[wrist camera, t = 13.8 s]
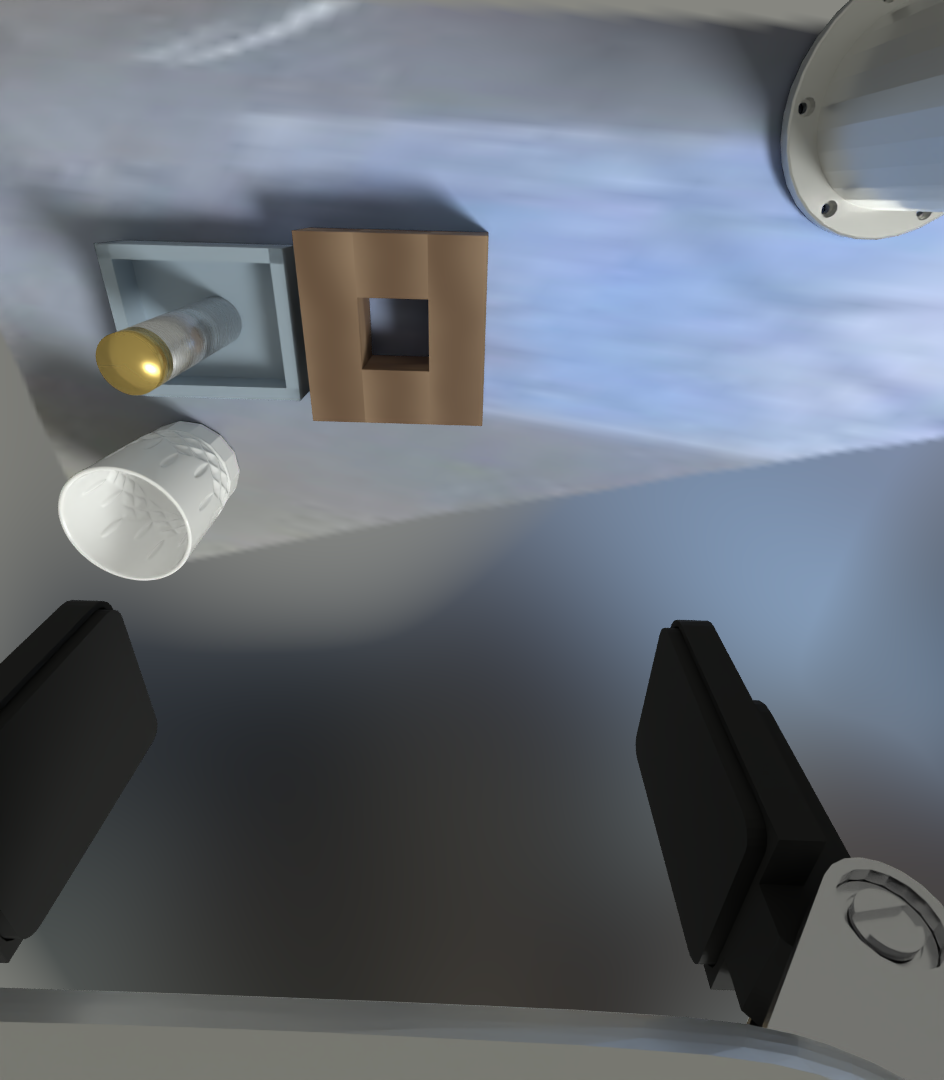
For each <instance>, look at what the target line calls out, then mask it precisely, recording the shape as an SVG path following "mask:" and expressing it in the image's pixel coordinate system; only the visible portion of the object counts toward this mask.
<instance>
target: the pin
mask: <svg viewBox="0 0 944 1080" xmlns="http://www.w3.org/2000/svg"><path fill="white" fill-rule="evenodd" d="M241 329H242V321H241V317H240V314H239V312H238V311H237V309H236V308H235V307H234V305H233V304H232V303H230V302H229V301H228V300H226V299H224V298H221V297H218V296H210V297H206V298H204V299H201V300H198V301H196V302H193V303H190V304H188V305H185V306H183V307H180V308H177V309H175V310H172V311H170V312H167V313H164V314H162V315H159V316H157V317H154V318H151V319H149V320H146V321H144V322H141V323H138V324H136V325H133V326H131V327H128V328H125V329H123V330H120V331H117V332H115V333H112V334H110V335H107V336H106V337H104V338H103V339H102V340H101V341H100V342H99V344H98V346H97V349H96V362H97V365H98V368H99V370H100V372H101V374H102V375H103V377H104V378H105V379H106V381H107V382H108V383H109V384H110V385H112V386H113V387H114V388H116V389H117V390H119V391H121V392H123V393H126V394H129V395H144V394H147V393H149V392H151V391H152V390H154V389H156V388H157V387H159V386H161V385H162V384H164V383H166V382H167V381H169V380H171V379H172V378H174V377H176V376H177V375H179V374H181V373H182V372H184V371H186V370H187V369H189V368H191V367H192V366H194V365H196V364H197V363H199V362H201V361H202V360H204V359H206V358H207V357H209V356H210V355H212V354H214V353H215V352H217V351H219V350H220V349H222V348H224V347H225V346H227V345H229V344H230V343H232V342H234V341H235V340H236V339H237V338H238V337H239V335H240V333H241Z"/></svg>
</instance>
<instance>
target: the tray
mask: <svg viewBox="0 0 944 1080" xmlns="http://www.w3.org/2000/svg"><path fill="white" fill-rule="evenodd" d="M94 246H95V250H96V254H97V258H98V262H99V265H100V269H101V273H102V277H103V281H104V284H105V288H106V292H107V296H108V300H109V303H110V307H111V311H112V315H113V318H114V322H115V326H116V330H117V331H120V330H123V329H125V328H128V327H131V326H133V325H136V324H138V323H141V322H144V321H146V320H149V319H151V318H154V317H157V316H159V315H162V314H164V313H167V312H170V311H172V310H175V309H177V308H180V307H183V306H185V305H188V304H190V303H193V302H196V301H198V300H201V299H204V298H206V297H210V296H218V297H221V298H224V299H226V300H228V301H229V302H230V303H232V304H233V305H234V307H235V308H236V309H237V311H238V312H239V314H240V317H241V321H242V329H241V333H240V335H239V337H238V338H237V339H236V340H235V341H234V342H232V343H230V344H229V345H227V346H225V347H224V348H222V349H220V350H219V351H217V352H215V353H214V354H212V355H210V356H209V357H207V358H206V359H204V360H202V361H201V362H199V363H197V364H196V365H194V366H192V367H191V368H189V369H187V370H186V371H184V372H182V373H181V374H179V375H177V376H176V377H174V378H172V379H171V380H169V381H167V382H166V383H164V384H162V385H161V386H159V387H157V388H156V389H154V390H152V391H151V392H149V393H147V394H144V395H134V396H159V397H192V398H226V399H260V400H293V401H301V399H302V398H303V397H304V396H305V395H306V394H307V393H308V392H309V391H310V387H309V378H308V370H307V361H306V352H305V343H304V335H303V326H302V317H301V308H300V299H299V291H298V282H297V273H296V264H295V255H294V247H293V245H274V244H237V243H201V242H165V241H129V240H119V241H111V242H102V243H94Z"/></svg>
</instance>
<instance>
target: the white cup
mask: <svg viewBox="0 0 944 1080" xmlns="http://www.w3.org/2000/svg"><path fill="white" fill-rule="evenodd" d="M239 472H240V470H239V466H238V463H237V459H236V456H235V453H234V451H233V450H232V449H231V447H230V446H229V445H228V444H227V442H226V441H225V440H224V439H223V437H222V436H221V435H219V434H218V433H216V432H214V431H212V430H211V429H209V428H207V427H206V426H204V425H202V424H198V423H191V422H184V421H178V422H175V423H172V424H168V425H165V426H162V427H160V428H158V429H157V430H155V431H153V432H152V433H149V434H147V435H144V436H142V437H140V438H138V439H137V440H135V441H133V442H131V443H129V444H127V445H126V446H124V447H121V448H120V449H118V450H116V451H115V452H113V453H111V454H109V455H108V456H106V457H104V458H103V459H101V460H99V461H98V462H96V463H94V464H92V465H91V466H89V467H87V468H85V469H84V470H82V471H80V472H78V473H77V474H75V475H74V476H72V477H71V478H70V479H69V480H68V481H67V482H66V484H65V485H64V487H63V488H62V490H61V493H60V496H59V501H58V513H59V518H60V522H61V525H62V527H63V530H64V532H65V534H66V535H67V537H68V539H69V540H70V542H71V543H72V544H73V545H74V547H75V548H76V549H77V550H78V551H79V552H80V553H81V554H82V555H83V556H84V557H85V558H87V559H88V560H89V561H90V562H92V563H93V564H95V565H96V566H98V567H99V568H101V569H103V570H105V571H107V572H110V573H111V574H114V575H117V576H120V577H124V578H128V579H133V580H155V579H160V578H163V577H166V576H168V575H170V574H172V573H174V572H175V571H177V570H178V569H179V568H180V567H181V566H182V565H183V564H184V563H185V562H186V560H187V559H188V557H189V556H190V555H191V553H192V552H193V550H194V549H195V548H196V546H197V545H198V544H199V542H200V541H201V539H202V538H203V537H204V535H205V534H206V533H207V531H208V530H209V529H210V527H211V526H212V524H213V523H214V521H215V519H216V518H217V517H218V515H219V514H220V512H221V511H222V509H223V507H224V505H225V503H226V501H227V500H228V498H229V497H230V496H231V494H232V493H233V492H234V490H235V489H236V486H237V482H238V477H239Z"/></svg>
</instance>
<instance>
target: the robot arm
mask: <svg viewBox="0 0 944 1080" xmlns="http://www.w3.org/2000/svg"><path fill="white" fill-rule="evenodd" d="M800 104H802V105H803V112H802V113H801V114H799V112H798V107H799V105H800ZM780 142H781V161H782V168H783V172H784V176H785V180H786V184H787V187H788V189H789V191H790V193H791V195H792V197H793V199H794V201H795V203H796V205H797V206H798V207H799V209H800V210H801V211H802V212H803V213H804V215H805V216H806V217H807V218H808V219H809V220H810V221H812V222H813V223H814V224H816V225H817V226H819V227H820V228H821V229H823V230H825V231H828V232H830V233H833V234H835V235H838V236H841V237H847V238H853V239H873V240H878V239H883V238H889V237H895V236H899V235H902V234H905V233H908V232H910V231H913V230H916V229H919V228H921V227H923V226H924V225H926V224H928V223H930V222H932V221H934V220H935V219H937V218H939V217H941V216H942V215H944V0H850V1H849V2H848V3H847V4H846V5H844V6H843V7H842V8H841V9H840V10H839V11H838V12H837V13H836V14H835V16H834V17H833V18H832V19H831V20H830V22H829V23H828V24H827V25H826V27H825V28H824V29H823V30H822V31H821V33H820V34H819V35H818V37H817V38H816V40H815V42H814V43H813V45H812V47H811V48H810V50H809V51H808V53H807V55H806V56H805V58H804V60H803V61H802V64H801V66H800V68H799V70H798V73H797V75H796V77H795V80H794V82H793V84H792V87H791V89H790V93H789V97H788V100H787V104H786V108H785V111H784V115H783V123H782V132H781V140H780ZM824 204H825V206H826V209H825V211H824V212H823V213H821V212H822V207H823V205H824ZM917 211H919V212H918V213H917ZM156 733H157V719H156V716H155V713H154V710H153V707H152V704H151V701H150V698H149V695H148V692H147V689H146V686H145V683H144V680H143V678H142V674H141V671H140V668H139V665H138V662H137V660H136V657H135V654H134V651H133V648H132V645H131V642H130V639H129V636H128V633H127V630H126V627H125V625H124V621H123V618H122V616H121V614H120V613H119V612H118V611H116V610H113V608H112V606H111V605H110V604H109V603H108V602H104V601H83V600H82V601H81V600H71V601H67V602H65V603H64V604H62V605H61V606H60V607H59V608H58V609H57V610H56V611H55V612H54V613H53V614H52V615H51V616H50V617H49V618H48V619H47V620H45V621H44V622H43V623H42V624H41V625H40V626H39V627H38V628H37V629H36V630H35V631H34V632H33V633H32V634H31V635H30V636H29V637H28V638H27V639H26V640H25V641H23V643H21V644H20V645H19V647H17V648H16V649H15V650H14V651H13V652H12V653H11V654H10V655H9V656H8V657H7V658H6V659H5V660H4V661H3V662H2V663H0V963H8V962H9V961H10V959H11V958H12V956H13V955H14V953H15V951H16V950H17V948H18V946H19V945H20V943H21V942H22V940H23V939H26V938H28V937H30V936H31V935H33V933H35V932H36V930H37V929H38V928H39V926H40V925H41V923H42V921H43V920H44V918H45V917H46V915H47V914H48V912H49V910H50V909H51V907H52V906H53V904H54V902H55V901H56V899H57V897H58V896H59V894H60V893H61V891H62V889H63V888H64V886H65V884H66V883H67V881H68V880H69V878H70V876H71V875H72V873H73V871H74V870H75V868H76V867H77V865H78V863H79V862H80V860H81V858H82V857H83V855H84V853H85V852H86V850H87V849H88V847H89V845H90V844H91V842H92V841H93V839H94V837H95V836H96V834H97V832H98V831H99V829H100V827H101V826H102V824H103V823H104V821H105V819H106V818H107V816H108V814H109V813H110V811H111V809H112V808H113V806H114V805H115V803H116V801H117V800H118V798H119V797H120V795H121V793H122V792H123V790H124V788H125V787H126V785H127V784H128V782H129V780H130V779H131V777H132V775H133V774H134V772H135V771H136V769H137V767H138V766H139V764H140V762H141V761H142V759H143V758H144V756H145V754H146V753H147V751H148V749H149V748H150V746H151V745H152V743H153V741H154V739H155V736H156ZM636 755H637V760H638V763H639V767H640V771H641V775H642V778H643V782H644V786H645V789H646V793H647V797H648V801H649V805H650V808H651V812H652V816H653V819H654V823H655V827H656V831H657V834H658V838H659V842H660V846H661V850H662V853H663V857H664V861H665V864H666V868H667V872H668V876H669V880H670V883H671V887H672V891H673V894H674V898H675V902H676V906H677V909H678V913H679V916H680V921H681V925H682V928H683V932H684V936H685V940H686V943H687V947H688V950H689V953H690V956H691V958H692V960H693V962H694V963H695V964H704V968H705V971H706V975H707V978H708V982H709V985H710V989H715V990H716V989H717V990H735V991H736V995H737V998H738V1001H739V1004H740V1008H741V1010H742V1011H743V1012H744V1013H745V1014H746V1015H747V1016H748V1017H749V1018H748V1021H747V1023H746V1024H741V1023H731V1022H723V1021H715V1020H706V1019H698V1018H689V1017H678V1016H661V1015H645V1014H630V1013H614V1012H598V1011H582V1010H566V1009H544V1008H520V1007H498V1006H475V1005H451V1004H429V1003H406V1002H383V1001H357V1000H330V999H306V998H281V997H254V996H227V995H200V994H173V993H144V992H143V993H142V992H115V991H84V990H53V989H23V988H0V1080H944V907H943V906H942V905H941V903H940V902H939V901H938V900H937V899H936V898H935V897H934V896H933V895H932V894H930V893H929V892H928V891H927V890H926V889H925V888H924V887H923V886H922V885H921V884H919V883H918V882H916V881H915V880H913V879H912V878H911V877H909V876H907V875H906V874H904V873H903V872H902V871H900V870H897V869H895V868H893V867H891V866H889V865H887V864H884V863H882V862H879V861H875V860H870V859H866V858H862V857H861V858H851V857H850V855H849V854H848V852H847V850H846V848H845V847H844V845H843V843H842V841H841V839H840V837H839V836H838V834H837V832H836V830H835V828H834V826H833V825H832V823H831V821H830V819H829V817H828V816H827V814H826V812H825V810H824V808H823V807H822V805H821V803H820V801H819V799H818V797H817V796H816V794H815V792H814V790H813V788H812V787H811V785H810V783H809V781H808V779H807V777H806V776H805V774H804V772H803V770H802V768H801V766H800V765H799V763H798V761H797V759H796V757H795V756H794V754H793V752H792V750H791V748H790V746H789V745H788V743H787V741H786V739H785V738H784V736H783V734H782V732H781V730H780V729H779V726H778V725H777V723H776V721H775V719H774V717H773V716H772V714H771V712H770V711H769V709H768V708H767V706H766V705H765V704H764V703H762V702H761V701H757V700H752V698H751V696H750V694H749V692H748V690H747V689H746V687H745V685H744V683H743V681H742V679H741V677H740V675H739V673H738V671H737V670H736V668H735V666H734V664H733V662H732V660H731V658H730V657H729V654H728V653H727V651H726V649H725V647H724V645H723V643H722V641H721V639H720V637H719V636H718V634H717V632H716V630H715V628H714V626H713V625H712V623H711V622H709V621H695V620H675V621H674V622H673V623H672V625H671V628H663V629H662V630H661V633H660V635H659V640H658V644H657V649H656V653H655V657H654V662H653V666H652V670H651V675H650V679H649V683H648V688H647V692H646V696H645V701H644V705H643V709H642V714H641V718H640V722H639V727H638V732H637V736H636Z"/></svg>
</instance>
